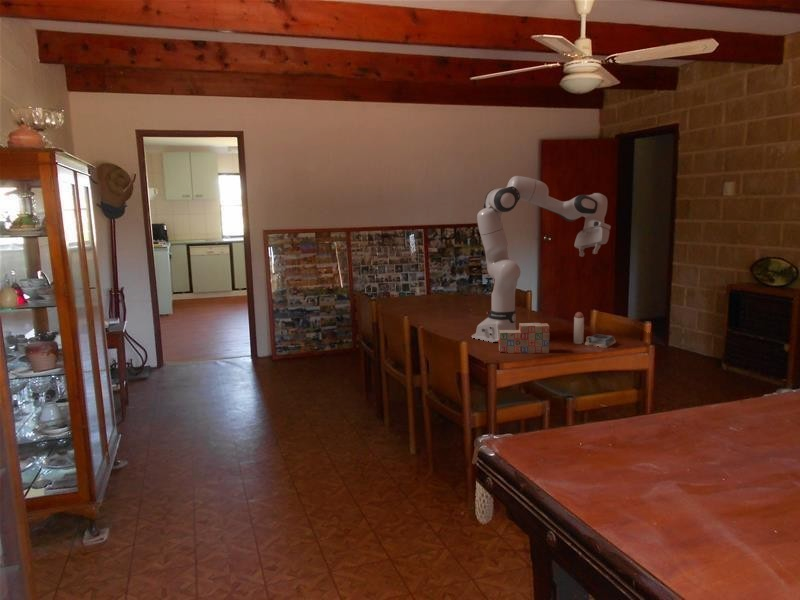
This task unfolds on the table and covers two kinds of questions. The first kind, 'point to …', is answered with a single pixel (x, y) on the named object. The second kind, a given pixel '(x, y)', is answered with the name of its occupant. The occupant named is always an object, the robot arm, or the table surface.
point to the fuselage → (578, 328)
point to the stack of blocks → (525, 339)
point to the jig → (600, 340)
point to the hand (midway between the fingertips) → (588, 254)
